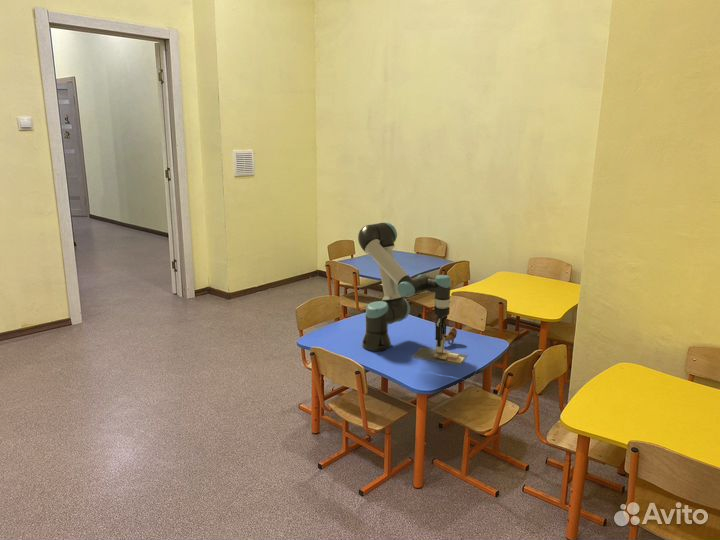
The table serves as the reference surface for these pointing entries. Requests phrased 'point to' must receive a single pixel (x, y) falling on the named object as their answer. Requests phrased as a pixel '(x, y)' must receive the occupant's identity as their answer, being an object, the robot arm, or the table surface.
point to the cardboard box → (444, 353)
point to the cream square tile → (453, 356)
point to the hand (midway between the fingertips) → (440, 350)
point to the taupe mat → (429, 355)
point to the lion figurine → (451, 335)
